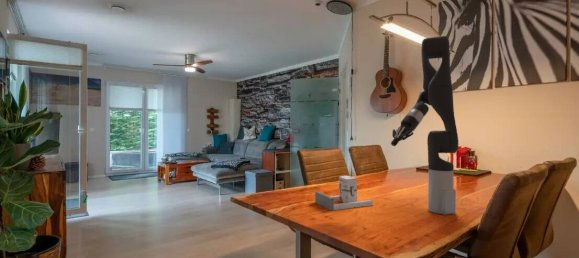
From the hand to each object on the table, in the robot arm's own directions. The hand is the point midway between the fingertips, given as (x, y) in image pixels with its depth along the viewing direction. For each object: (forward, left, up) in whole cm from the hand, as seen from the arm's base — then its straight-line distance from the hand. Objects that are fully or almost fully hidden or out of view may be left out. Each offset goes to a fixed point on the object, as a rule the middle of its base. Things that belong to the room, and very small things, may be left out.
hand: (392, 144), depth 146 cm
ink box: (-1, +26, -26) cm, 37 cm away
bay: (-1, +28, -26) cm, 38 cm away
